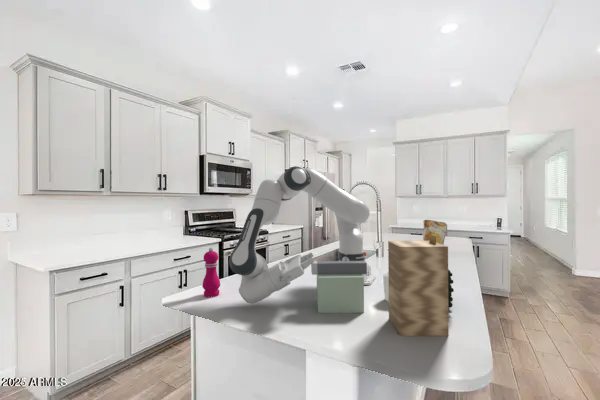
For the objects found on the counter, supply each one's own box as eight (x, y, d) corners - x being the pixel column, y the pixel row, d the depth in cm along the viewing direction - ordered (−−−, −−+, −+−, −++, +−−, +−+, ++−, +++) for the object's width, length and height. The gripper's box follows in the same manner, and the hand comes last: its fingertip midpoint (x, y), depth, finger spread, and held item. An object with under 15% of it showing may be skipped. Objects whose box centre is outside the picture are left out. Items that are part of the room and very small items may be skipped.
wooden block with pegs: (400, 335, 89) (399, 238, 89) (388, 319, 101) (388, 233, 101) (448, 335, 89) (448, 237, 89) (431, 319, 101) (430, 232, 101)
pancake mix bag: (429, 271, 165) (429, 219, 165) (449, 280, 146) (448, 222, 146) (417, 271, 165) (417, 219, 164) (435, 281, 146) (435, 222, 145)
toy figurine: (461, 318, 105) (442, 290, 129) (462, 265, 103) (443, 246, 127) (431, 316, 107) (419, 289, 131) (432, 264, 105) (419, 246, 129)
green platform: (318, 312, 107) (318, 277, 107) (316, 301, 119) (316, 269, 119) (364, 312, 107) (363, 277, 107) (357, 300, 119) (357, 268, 119)
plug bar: (311, 274, 111) (311, 263, 111) (311, 271, 115) (311, 261, 115) (366, 274, 111) (366, 262, 111) (364, 271, 115) (364, 260, 115)
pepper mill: (223, 293, 130) (223, 246, 130) (213, 298, 124) (213, 249, 123) (209, 291, 133) (208, 245, 133) (198, 296, 126) (198, 248, 126)
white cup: (401, 305, 114) (401, 278, 114) (380, 301, 118) (380, 275, 118) (406, 299, 121) (406, 273, 121) (386, 295, 125) (386, 271, 125)
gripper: (273, 275, 103) (309, 254, 103) (278, 262, 123) (308, 245, 123) (283, 291, 103) (318, 270, 103) (286, 275, 123) (316, 258, 123)
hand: (312, 256), depth 113 cm, fingers open, 8 cm apart
